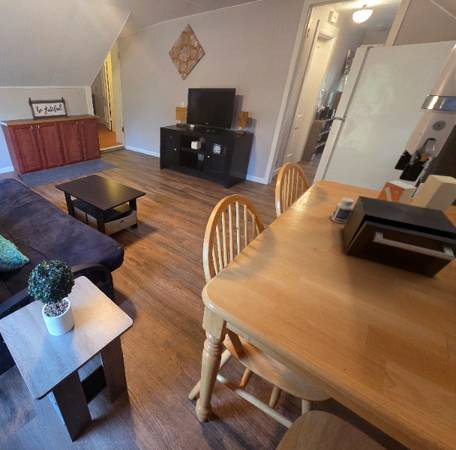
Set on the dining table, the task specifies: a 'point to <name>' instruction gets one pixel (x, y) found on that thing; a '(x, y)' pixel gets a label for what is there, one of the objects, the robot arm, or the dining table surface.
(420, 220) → the oven
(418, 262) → the oven door
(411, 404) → the dining table surface
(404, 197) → the small box
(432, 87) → the robot arm
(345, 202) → the pill bottle
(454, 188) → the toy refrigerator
